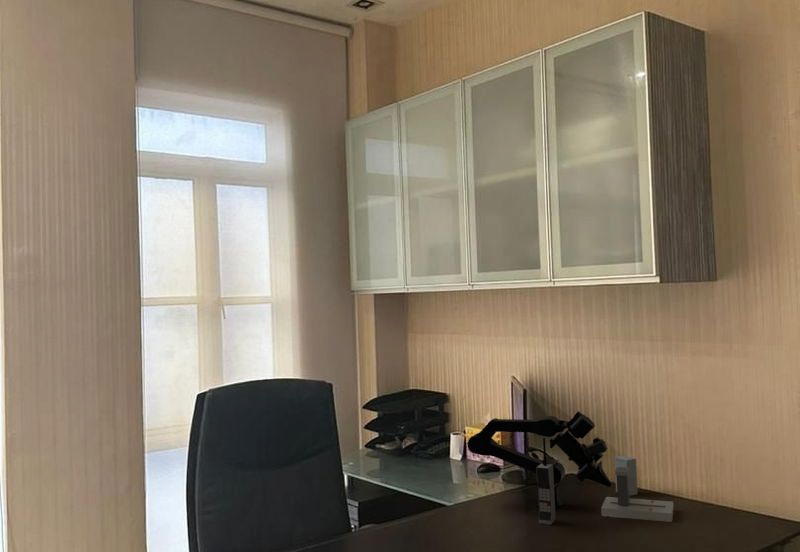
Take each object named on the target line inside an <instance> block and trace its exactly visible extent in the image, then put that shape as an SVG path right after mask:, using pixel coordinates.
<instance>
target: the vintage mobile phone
mask: <svg viewBox="0 0 800 552" xmlns="http://www.w3.org/2000/svg"><path fill="white" fill-rule="evenodd" d="M542 442H543V443H542V444H543V453H542V454H543V459H544V464H540V465H539V466H538V467H537V468H536V471H537V475H536V484H537V483H538V486H537V490H538V494H537V495H538V503H539V507H538V523H539V524H540V525H548V526H550V525H552V524H553V523H554V522H555V521H556V508H555V496H554V474H553V465H551V464H547V462H546V456H547V452H546V451H547V450H546V437H543V438H542Z"/></svg>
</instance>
